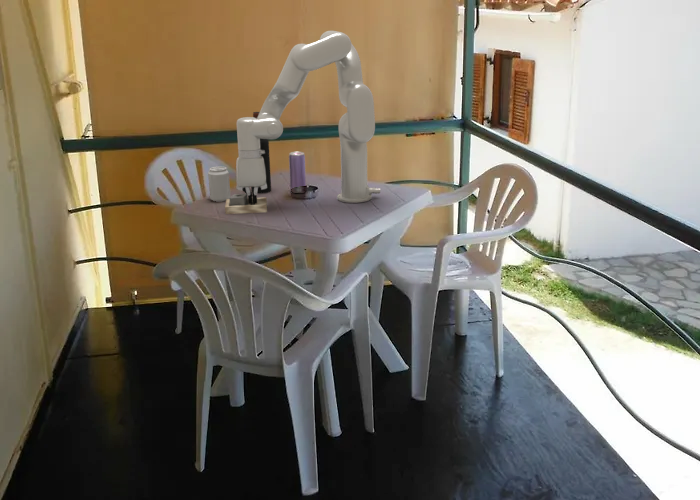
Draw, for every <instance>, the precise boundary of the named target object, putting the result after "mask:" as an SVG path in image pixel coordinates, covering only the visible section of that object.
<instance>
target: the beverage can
mask: <svg viewBox="0 0 700 500" xmlns="http://www.w3.org/2000/svg"><path fill="white" fill-rule="evenodd" d="M288 163H289V164H288V165H289V166H288V167H289V189H290V190H289V191H290V192H291V189H292V188H294V187H299V186H306V187H307V179H306V178H307V176H306V155H305V152H303V151H291V152H289V155H288Z"/></svg>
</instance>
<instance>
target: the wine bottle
mask: <svg viewBox="0 0 700 500" xmlns="http://www.w3.org/2000/svg"><path fill="white" fill-rule="evenodd" d="M259 113H260V111H253V113H252V117H254V118H256V119H257V117H258V115H259ZM269 143H270V142H269V139H260V149H261V150H265V154H262V155H261V156H262V157H263V159H264V164H265V172H266V184H267V188H266V189H263V190H260V191H259V193H258V194H268V193H270V192H272V179H271V162H270V161H271V160H270V157H271V156H270V144H269ZM250 192H251V193H253V192H254V187H250Z"/></svg>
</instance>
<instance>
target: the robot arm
mask: <svg viewBox="0 0 700 500" xmlns="http://www.w3.org/2000/svg"><path fill="white" fill-rule="evenodd" d="M288 53H289V54H288V56H287V58H286V60H285V62H284V65H283V67H282V70H281V71H280V74H279V75H278V78H277V79H276V82H275V84H274V86H273V87H272V88H271V90H270V92H269V94H268V95H267V97H266V98H265V99H264V102H263V104H262V105H261V109H260V111H259V112H260V113H259V115H258V117H257V119H256V118H254V117H253V116H246V117H240V118H238V119H237V120H236V132H237V133H236V134H237V135H236V136H237V150H238V151H237V152H238V157H237V158H236V164H235V167H236V169H235V170H236V171H235V173H236V174H235V175H236V176H235V177H236V190H238V191H241V192H242V191H243V192H244V194H247V197H248V203H249V204H251V205H255V203H257V198H258V194H260V193H259V191H260V190H263V189H266V188H267V184H266V172H265V164H264V159H263V157H262V156H261V155H262V154H265V150H261V149H260V139H268V140H276V139H278V138H279V137H281V136H282V134H283V131H284V125H283V123H282V122H281V119H280V118H281V116H282V114H283V113H284V111H285V109H286V107H287V106H288V104H290V103H291V102H292V101H293V100H295V99H296V98H297V96H299V94H300V92H301V91H302V88H303V86H304V84H305V82H306V79H307V77H308V75H309V73H310V72H313V71H316V70H318V69H321V68H323V67H326V66H328V65H331V64H333V63H335V67H336V71H337V73H336V74H337V82H338V83H337V84H338V85H337V86H338V98H339V102H340V104H341V105H343V106H344V107H345V108H346V111H347V112H345V113H344V114H342V116H341V117H340V119H339V121H338V135H339V137H338V138H339V143H340V144H339V145H340V146H339V147H340V176H341V177H340V182H341V185H340V186H341V187H340V188H341V191H340V192H341V193H339V194H337V196H336V197H337V198H336V199H337V200H338V201H339V202H342V203H349V204H351V203H353V204H354V203H355V204H359V203H364V202H369V201H371V200H372V198H373V195H372V194H376V195H377V194H381V188H380V187H379V188H378V187H376V186H375V187H370V186H369V185H368V146H367V145H368V142H369V141H370V140H372V138H373V137H374V134H375V130H376V120H375V119H376V117H375V101H374V95H373V93H372V91H371V89H370V88H369V87H368V86H367V85H366V84H364V80H363V70H362V63H361V62H362V61H361V59H360V55H359V52H358V51H357V49H356V47H355V46H354V45H353V44H352V41H351V38H350V37H349V35H347V34H346V33H344V32H341V31H336V30H327V31H324V32H323V33H322V34H321V35H320V37H319V40H316V41H314V42H311V43H308V44H307V43H298V44H295V45H294V46H293V47H292V48H291V50H290V52H288ZM251 187H254V192H252V191H251ZM252 198H253V199H252Z"/></svg>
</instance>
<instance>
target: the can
mask: <svg viewBox="0 0 700 500" xmlns="http://www.w3.org/2000/svg"><path fill="white" fill-rule="evenodd" d="M227 169H228V167H226V166H219V165H218V166H213V167H210V168H209V170H208V172H207V178H208V188H209V191H208V192H209V199H210V200H211V201H212V200H213V202H215V201H216V202H217V203H221V202H226V199H229V198H230V197H231V187H230V185H231V184H230V173H229V170H227ZM216 202H215V203H216Z"/></svg>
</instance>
